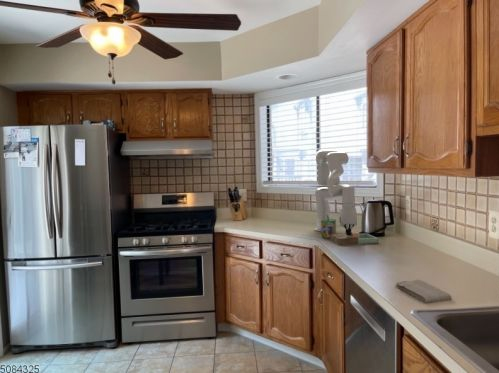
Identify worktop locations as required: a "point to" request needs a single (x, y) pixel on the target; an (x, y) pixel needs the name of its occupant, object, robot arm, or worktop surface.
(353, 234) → the terracotta block
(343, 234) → the walnut board
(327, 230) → the chalk box
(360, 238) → the box
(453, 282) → the worktop surface
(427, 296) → the washcloth
